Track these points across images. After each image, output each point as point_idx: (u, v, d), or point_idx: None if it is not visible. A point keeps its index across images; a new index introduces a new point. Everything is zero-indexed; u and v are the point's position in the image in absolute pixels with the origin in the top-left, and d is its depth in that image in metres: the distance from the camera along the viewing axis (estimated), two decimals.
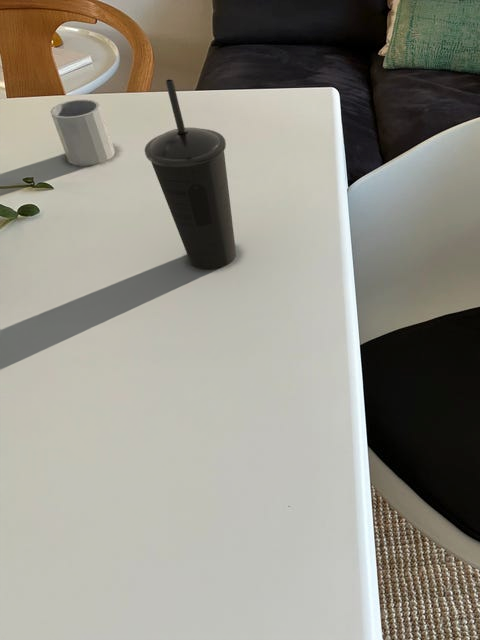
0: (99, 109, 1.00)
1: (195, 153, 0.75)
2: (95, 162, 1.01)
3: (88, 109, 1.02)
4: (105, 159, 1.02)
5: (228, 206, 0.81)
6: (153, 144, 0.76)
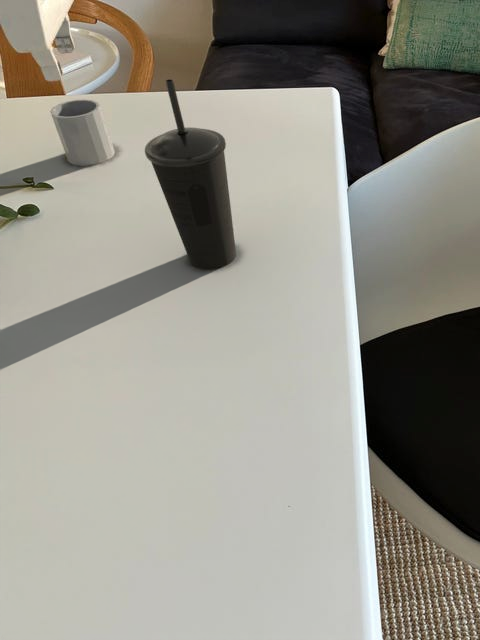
0: (99, 109, 1.00)
1: (195, 153, 0.75)
2: (95, 162, 1.01)
3: (88, 109, 1.02)
4: (105, 159, 1.02)
5: (228, 206, 0.81)
6: (153, 144, 0.76)
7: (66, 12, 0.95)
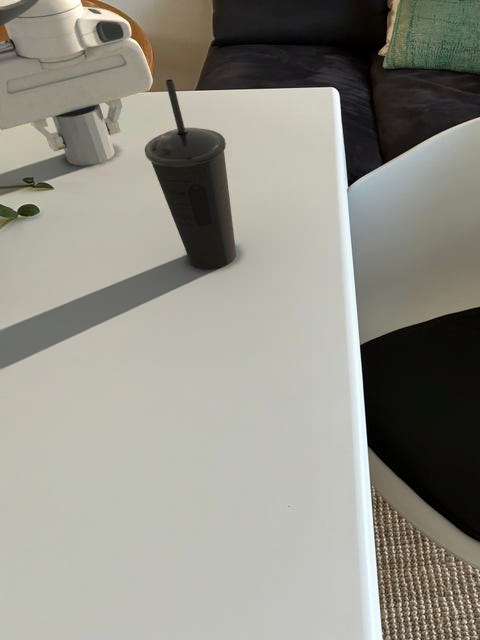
0: (99, 109, 1.00)
1: (195, 153, 0.75)
2: (95, 162, 1.01)
3: (88, 109, 1.02)
4: (105, 159, 1.02)
5: (228, 206, 0.81)
6: (153, 144, 0.76)
7: None
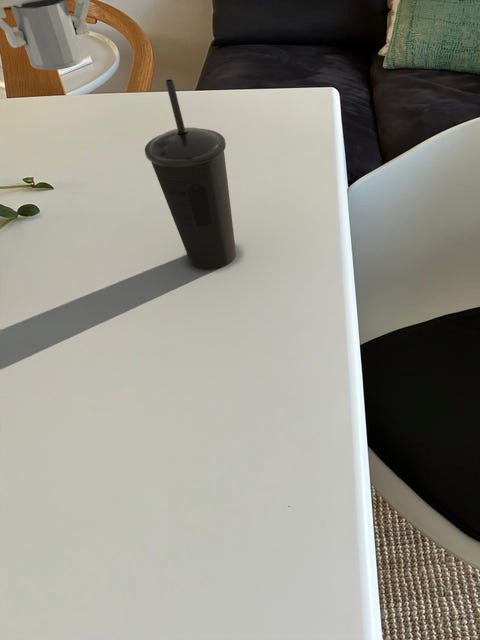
0: (64, 2, 0.91)
1: (195, 153, 0.75)
2: (59, 62, 0.92)
3: None
4: (71, 60, 0.93)
5: (228, 206, 0.81)
6: (153, 144, 0.76)
7: None
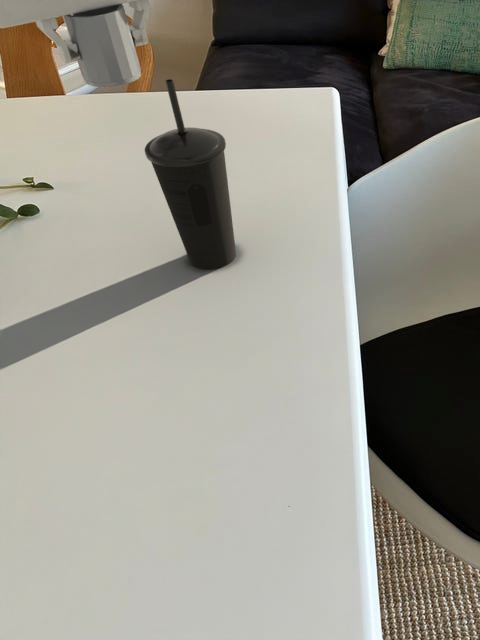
0: (122, 10, 0.80)
1: (195, 153, 0.75)
2: (117, 78, 0.81)
3: (108, 13, 0.82)
4: (129, 75, 0.82)
5: (228, 206, 0.81)
6: (153, 144, 0.76)
7: None
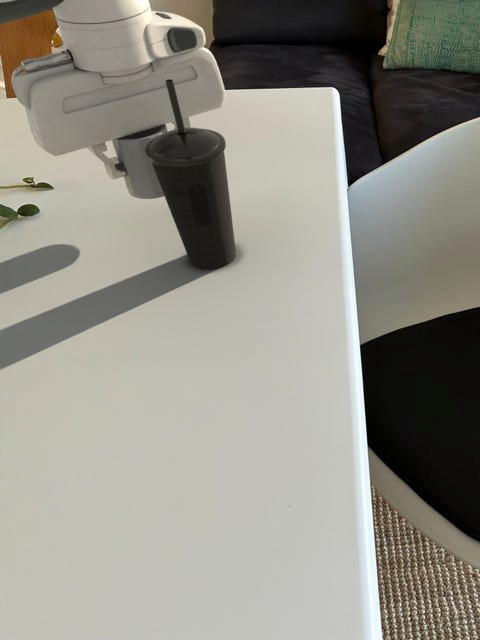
0: (165, 130, 0.85)
1: (195, 153, 0.75)
2: (159, 191, 0.87)
3: (151, 129, 0.88)
4: None
5: (228, 206, 0.81)
6: (153, 144, 0.76)
7: None
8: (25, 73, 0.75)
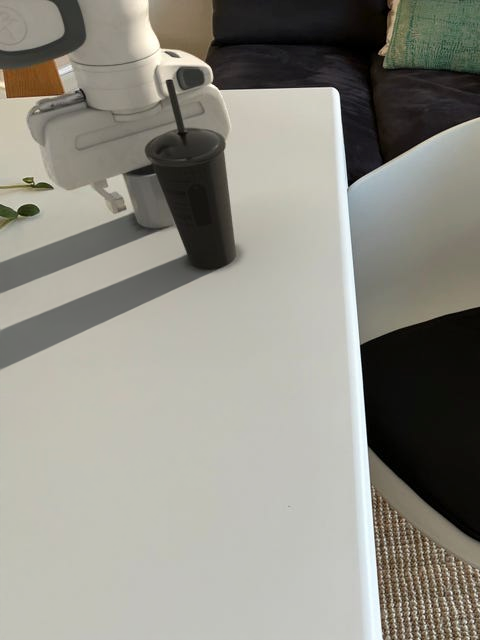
0: None
1: (195, 153, 0.75)
2: (169, 224, 0.90)
3: None
4: None
5: (228, 206, 0.81)
6: (153, 144, 0.76)
7: None
8: (40, 112, 0.78)
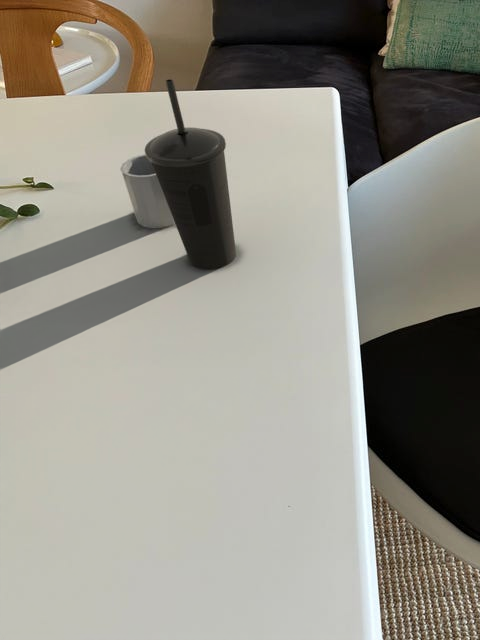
0: None
1: (195, 153, 0.75)
2: (169, 224, 0.90)
3: None
4: None
5: (228, 206, 0.81)
6: (153, 144, 0.76)
7: None
8: None
